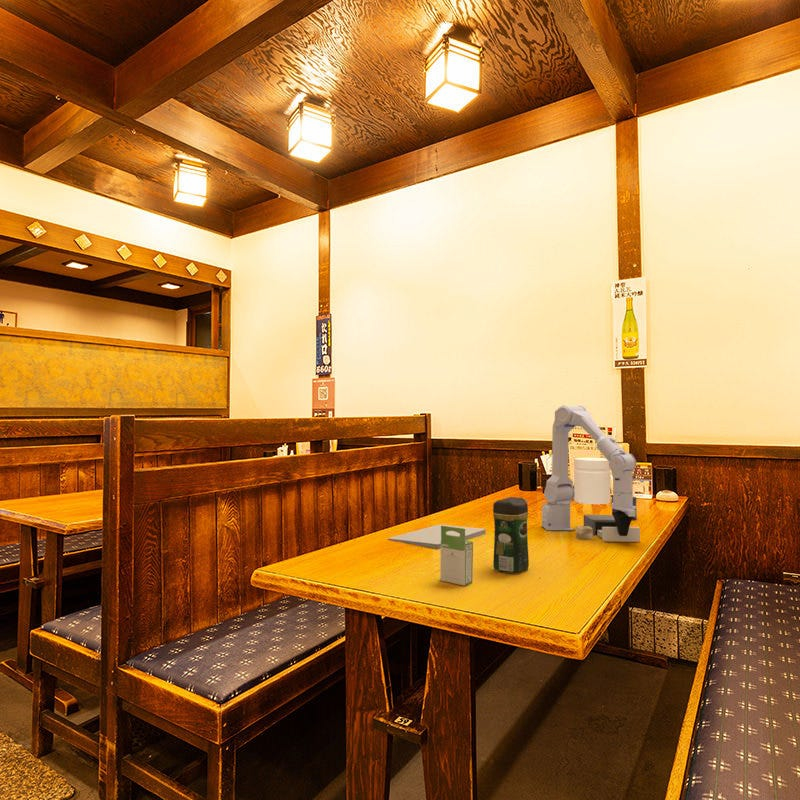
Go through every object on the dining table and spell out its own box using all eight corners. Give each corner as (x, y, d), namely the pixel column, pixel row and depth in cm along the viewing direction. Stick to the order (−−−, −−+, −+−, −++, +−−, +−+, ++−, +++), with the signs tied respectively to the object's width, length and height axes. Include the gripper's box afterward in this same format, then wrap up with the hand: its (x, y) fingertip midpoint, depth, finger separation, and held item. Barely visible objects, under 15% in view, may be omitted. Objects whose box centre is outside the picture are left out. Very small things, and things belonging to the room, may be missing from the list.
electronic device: (438, 551, 161) (438, 544, 161) (387, 541, 174) (387, 534, 174) (486, 534, 184) (486, 529, 184) (438, 527, 196) (438, 521, 196)
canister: (586, 498, 264) (585, 457, 264) (617, 502, 252) (617, 459, 252) (567, 501, 253) (567, 458, 254) (599, 505, 241) (598, 461, 242)
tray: (603, 541, 172) (603, 527, 172) (593, 535, 181) (593, 521, 181) (640, 541, 172) (639, 527, 172) (628, 535, 180) (628, 522, 181)
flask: (635, 519, 211) (634, 491, 211) (638, 520, 208) (637, 492, 208) (611, 518, 211) (610, 491, 211) (613, 520, 208) (613, 492, 208)
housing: (592, 535, 181) (592, 519, 182) (583, 529, 190) (583, 514, 191) (628, 535, 181) (628, 519, 181) (617, 529, 190) (617, 515, 190)
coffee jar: (505, 563, 147) (505, 494, 147) (532, 568, 142) (532, 497, 143) (488, 570, 139) (488, 498, 140) (516, 576, 134) (516, 501, 135)
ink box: (473, 582, 129) (473, 526, 130) (464, 586, 126) (464, 529, 127) (448, 577, 134) (448, 522, 134) (439, 581, 130) (440, 525, 131)
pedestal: (580, 539, 175) (580, 528, 175) (576, 536, 179) (576, 526, 179) (592, 539, 175) (592, 528, 175) (588, 536, 179) (588, 526, 179)
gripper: (645, 495, 163) (645, 541, 163) (626, 489, 178) (626, 530, 178) (622, 495, 164) (622, 540, 163) (604, 489, 178) (605, 530, 178)
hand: (623, 535), depth 170 cm, fingers closed
